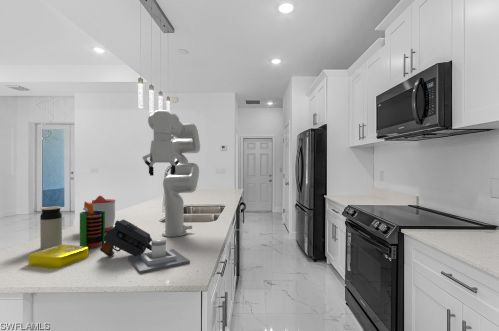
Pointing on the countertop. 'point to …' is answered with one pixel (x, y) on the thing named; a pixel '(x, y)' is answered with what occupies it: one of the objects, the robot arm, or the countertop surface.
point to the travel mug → (50, 227)
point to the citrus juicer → (106, 206)
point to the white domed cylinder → (158, 248)
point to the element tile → (57, 256)
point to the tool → (126, 239)
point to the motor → (92, 227)
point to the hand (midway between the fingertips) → (162, 175)
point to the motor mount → (157, 261)
